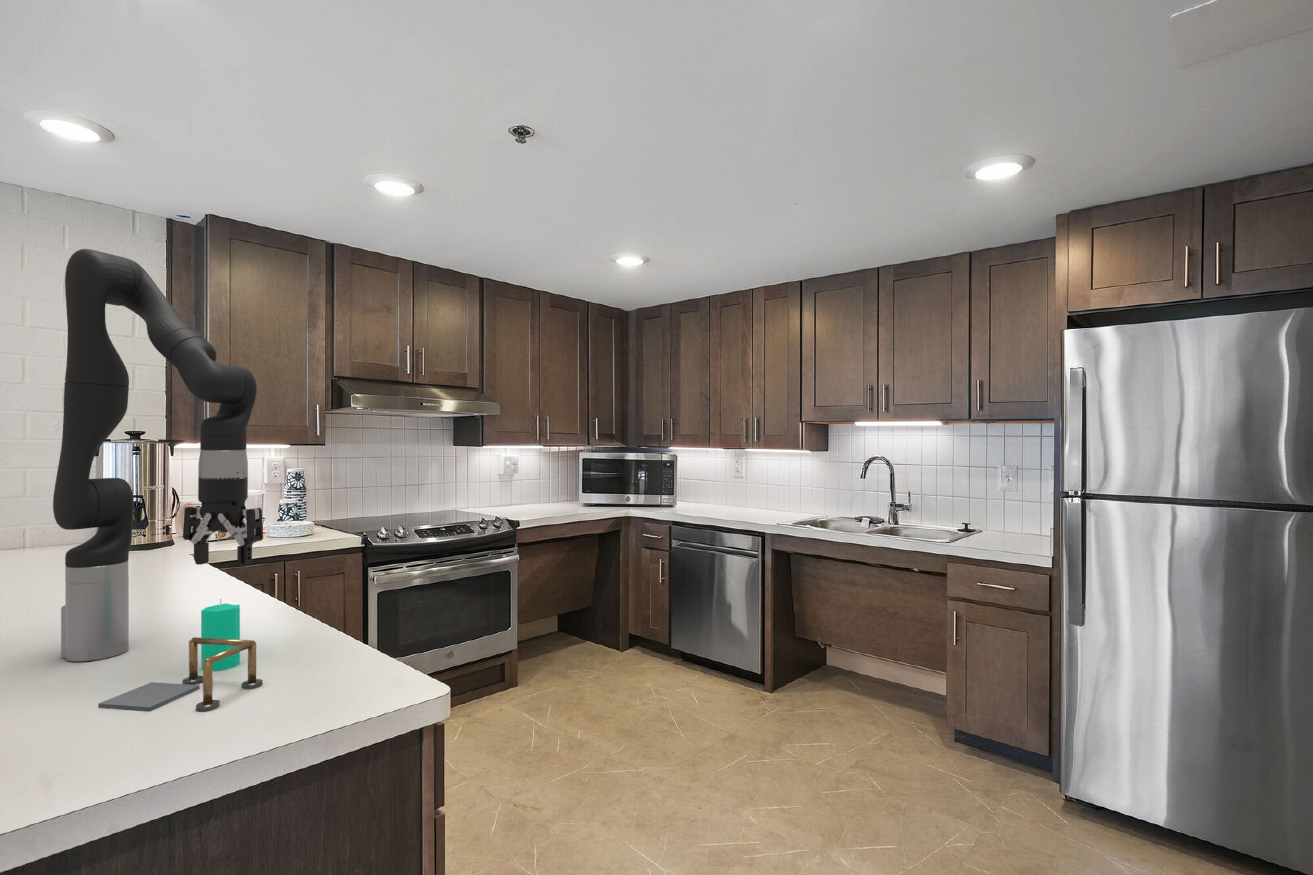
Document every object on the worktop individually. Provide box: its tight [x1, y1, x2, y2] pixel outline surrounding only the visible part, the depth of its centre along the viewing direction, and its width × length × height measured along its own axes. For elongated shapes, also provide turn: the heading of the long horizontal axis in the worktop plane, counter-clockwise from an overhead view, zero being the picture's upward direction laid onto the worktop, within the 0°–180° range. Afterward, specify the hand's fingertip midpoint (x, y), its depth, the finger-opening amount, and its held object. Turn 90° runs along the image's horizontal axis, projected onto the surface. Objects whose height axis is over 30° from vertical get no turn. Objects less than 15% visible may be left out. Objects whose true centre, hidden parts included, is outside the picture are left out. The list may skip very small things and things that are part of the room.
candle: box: [200, 598, 241, 672], centre depth 121 cm, size 6×6×12 cm
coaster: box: [97, 681, 201, 712], centre depth 106 cm, size 9×9×1 cm
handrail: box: [181, 637, 264, 713], centre depth 107 cm, size 14×12×8 cm
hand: (222, 564), depth 121 cm, fingers open, 8 cm apart
